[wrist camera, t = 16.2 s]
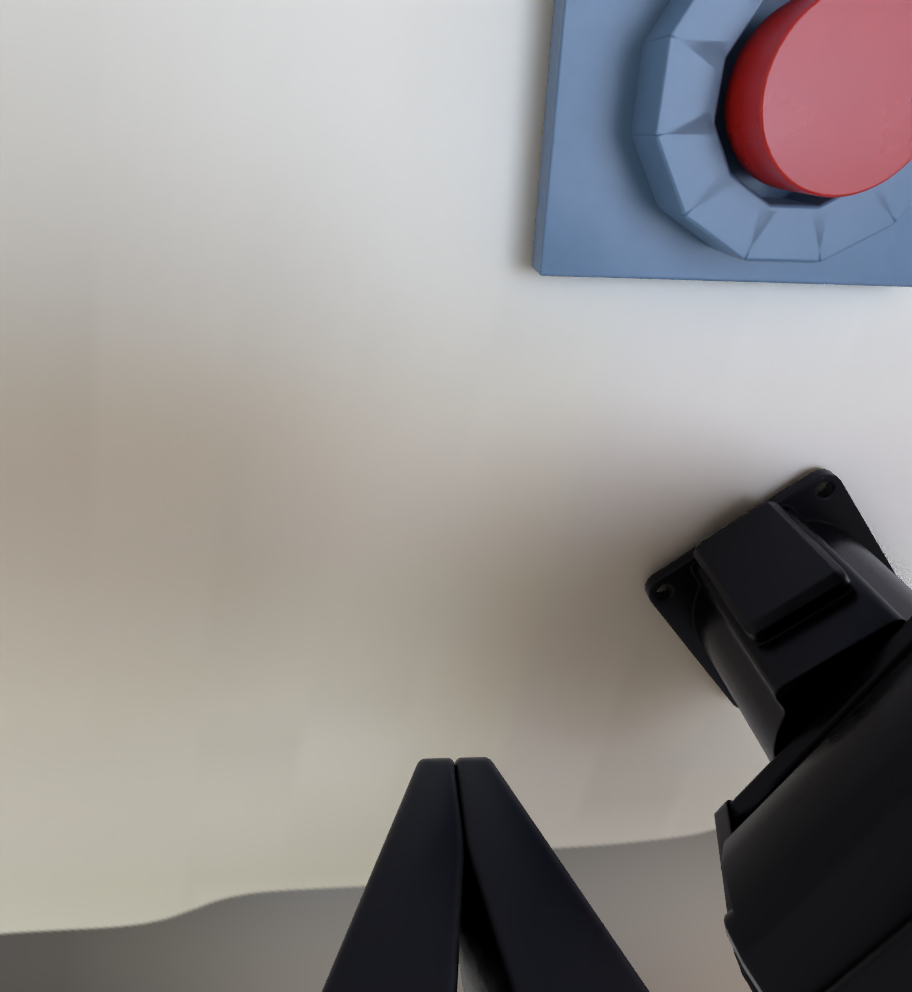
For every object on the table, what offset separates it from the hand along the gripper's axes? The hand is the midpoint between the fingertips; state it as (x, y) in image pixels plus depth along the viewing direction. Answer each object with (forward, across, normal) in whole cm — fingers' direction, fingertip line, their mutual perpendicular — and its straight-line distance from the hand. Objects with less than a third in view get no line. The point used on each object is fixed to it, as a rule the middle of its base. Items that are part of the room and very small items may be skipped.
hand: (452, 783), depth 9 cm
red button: (+10, -8, -8) cm, 15 cm away
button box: (+13, -8, -8) cm, 17 cm away
